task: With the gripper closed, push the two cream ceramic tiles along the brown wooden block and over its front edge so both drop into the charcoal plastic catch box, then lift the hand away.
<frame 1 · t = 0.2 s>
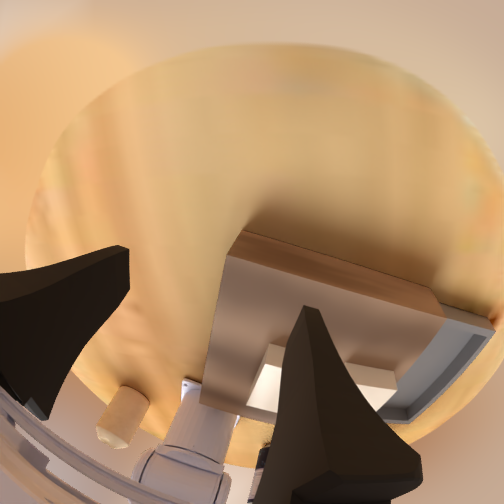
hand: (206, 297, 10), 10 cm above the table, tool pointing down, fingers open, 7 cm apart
catch box: (417, 367, 23), on the table
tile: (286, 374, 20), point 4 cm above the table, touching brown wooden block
candle: (135, 395, 36), on the table
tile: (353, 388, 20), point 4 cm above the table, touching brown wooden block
brown wooden block: (306, 344, 24), on the table
beverage can: (278, 447, 35), on the table
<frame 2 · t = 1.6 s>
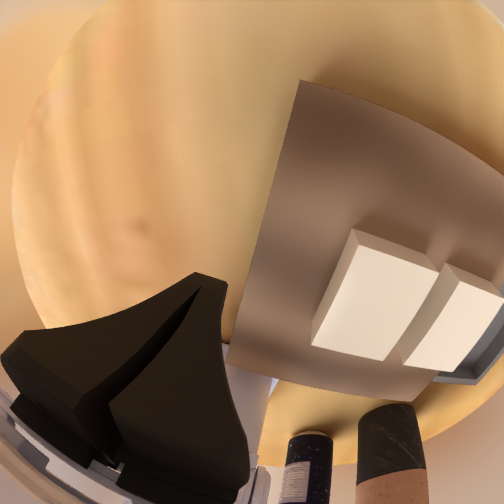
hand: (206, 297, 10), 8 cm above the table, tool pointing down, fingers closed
catch box: (490, 303, 16), on the table
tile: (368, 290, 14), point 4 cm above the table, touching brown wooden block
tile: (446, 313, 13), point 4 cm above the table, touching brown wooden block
brown wooden block: (377, 263, 17), on the table
beverage can: (311, 436, 29), on the table
travel mug: (386, 417, 25), on the table
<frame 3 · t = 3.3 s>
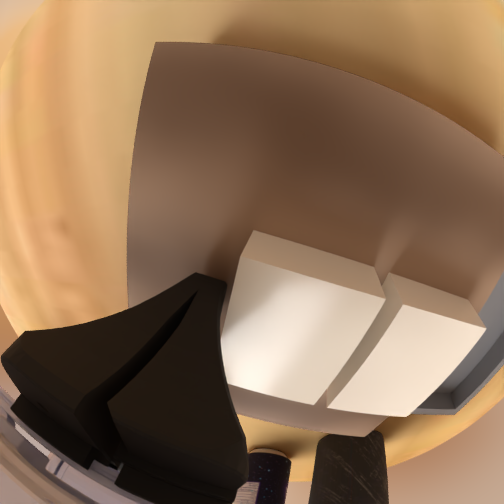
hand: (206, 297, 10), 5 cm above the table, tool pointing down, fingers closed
catch box: (474, 320, 13), on the table
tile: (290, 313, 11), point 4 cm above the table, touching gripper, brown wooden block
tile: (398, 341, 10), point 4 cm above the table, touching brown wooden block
brown wooden block: (307, 270, 14), on the table
beverage can: (268, 453, 26), on the table
travel mug: (350, 441, 22), on the table
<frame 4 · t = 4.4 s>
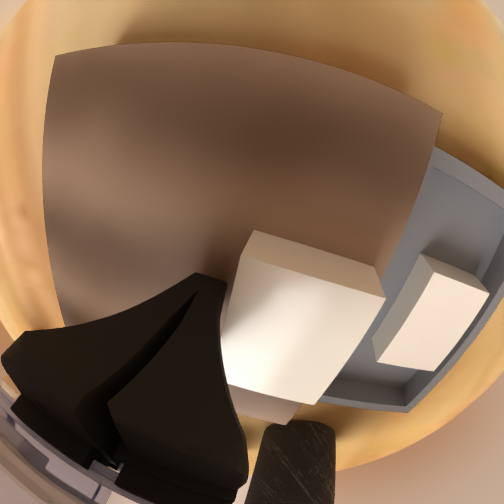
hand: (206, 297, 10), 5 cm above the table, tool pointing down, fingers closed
catch box: (415, 301, 14), on the table
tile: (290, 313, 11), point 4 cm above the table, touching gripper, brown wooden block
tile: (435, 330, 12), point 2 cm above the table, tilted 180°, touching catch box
brown wooden block: (200, 237, 15), on the table
travel mug: (299, 434, 22), on the table
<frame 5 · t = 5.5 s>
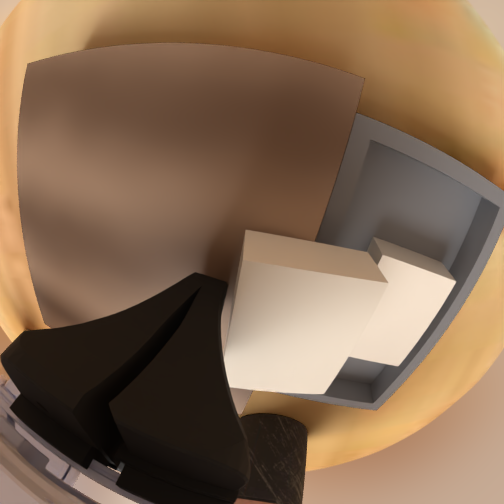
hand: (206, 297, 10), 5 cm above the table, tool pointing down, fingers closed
catch box: (374, 290, 14), on the table
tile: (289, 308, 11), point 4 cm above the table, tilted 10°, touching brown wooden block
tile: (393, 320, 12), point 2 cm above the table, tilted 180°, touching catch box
brown wooden block: (154, 223, 15), on the table
travel mug: (271, 428, 23), on the table
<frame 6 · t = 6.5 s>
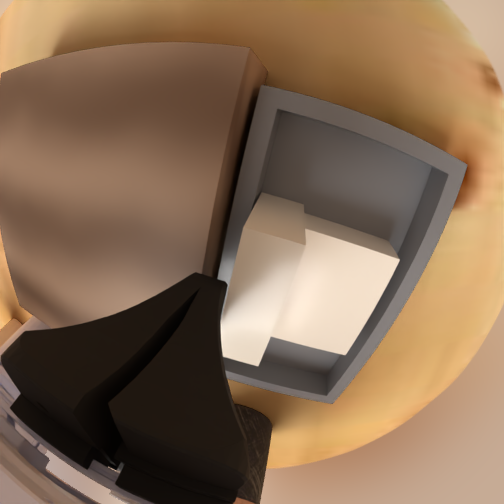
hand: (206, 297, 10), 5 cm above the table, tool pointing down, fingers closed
catch box: (314, 271, 14), on the table
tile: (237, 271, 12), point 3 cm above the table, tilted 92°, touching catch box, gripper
candle: (24, 332, 27), on the table
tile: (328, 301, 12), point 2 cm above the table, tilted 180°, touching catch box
brown wooden block: (105, 208, 15), on the table
travel mug: (236, 419, 23), on the table
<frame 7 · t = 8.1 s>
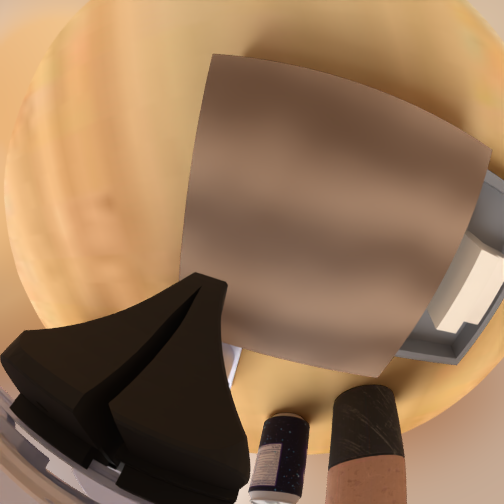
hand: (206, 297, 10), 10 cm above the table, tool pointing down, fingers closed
catch box: (462, 272, 17), on the table
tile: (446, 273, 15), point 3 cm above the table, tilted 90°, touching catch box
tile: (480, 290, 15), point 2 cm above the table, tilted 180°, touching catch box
brown wooden block: (321, 225, 18), on the table
beverage can: (287, 419, 30), on the table
travel mug: (363, 400, 26), on the table
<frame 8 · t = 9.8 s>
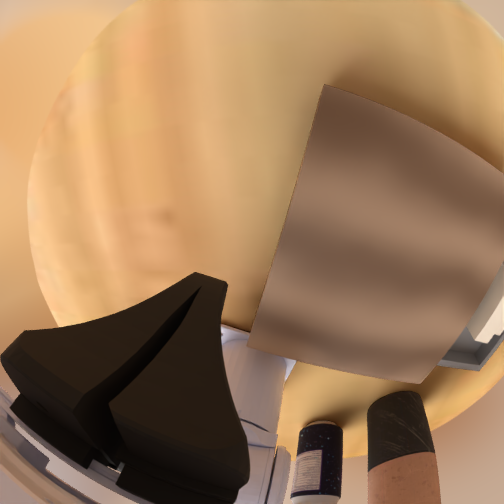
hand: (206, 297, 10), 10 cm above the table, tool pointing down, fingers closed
catch box: (490, 290, 18), on the table
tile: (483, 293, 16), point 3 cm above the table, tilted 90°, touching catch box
brown wooden block: (386, 250, 19), on the table
beverage can: (321, 426, 30), on the table
travel mug: (394, 406, 26), on the table
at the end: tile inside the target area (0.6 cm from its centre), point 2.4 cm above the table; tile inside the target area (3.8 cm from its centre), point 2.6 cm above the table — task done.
